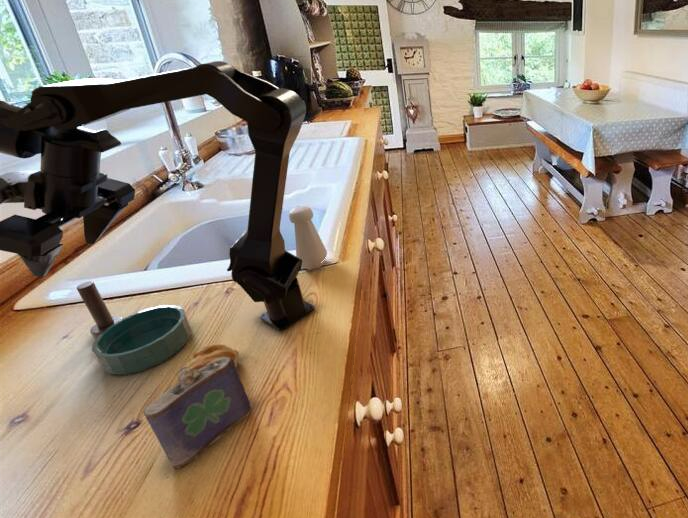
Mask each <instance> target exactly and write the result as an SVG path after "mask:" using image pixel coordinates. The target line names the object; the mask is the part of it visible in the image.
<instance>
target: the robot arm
mask: <svg viewBox="0 0 688 518" xmlns="http://www.w3.org/2000/svg"><path fill="white" fill-rule="evenodd" d="M205 95H207V96H209V97H211V98H213V99H215V100H216V101H217V102H218V103H219V104H220V105H221V106H222V107H223V108H224V109H226V110H227V111H228V112H229V113H230V114H231V115H233V116H235V117H237V118H238V119H241V120H242V121H245V122H246V128H247V136H248V138H249V141H250V142H251V144H252V147H253V150H254V162H253V173H252V183H251V191H250V200H249V201H250V202H249V212H248V221H247V230H245V231H244V232H243V233H242V235H241V236H240V237H239V238H237V240H236V241H235V242H234V243H233V244H232V245H231V246H230V248H229V254H228V255H229V265H228V267H227V269H226V272H230V273H231V274H230V275H231V279H232V281H233V283H236V284H237V285H238V286H239V287H241V289H242V290H243V291H244V292H245V293H246V294H247V295H248V297H250V299H251V300H252V301H253V302H254V303H263V304H264V307H265V312H263V313H262V314H260V316H259V317H260V320H262V321H263V322H265V323H267V324H269V325H270V326H271V327H273V328H274V329H276V330H278V331H280V332H281V331H284V330H286V329H287V328H289V327H291V326H292V325H293V324H295V323H296V322H298V321H299V320H302V318H304V317H306V316H307V315H309V314H310V313H312V312H314V311H315V309H316V307H315V306H314V305H313V304H311V303H309V302H307V301H306V300H305V299H304V297H303V293H302V290H301V285H300V282H299V279H298V277H297V276H298V274H299V273H300V272H301V271H302V268H303V267H302V260H301V259H300V258H298V257H296V255H294V254H293V253H291V252H289V251H287V250H286V246H285V239H284V237H283V235H282V233H281V222H282V221H281V220H282V214H283V206H284V198H285V191H286V185H287V184H286V183H287V175H288V169H289V162H290V153H291V151H292V148H293V146H294V144H295V142H296V140H297V138H298V136H299V134H300V131H301V129H302V127H303V123H304V120H305V117H306V114H307V105H306V102H305V101H304V100H303V98H302V97H301V96H300V95H299V94H297V93H296V92H295V91H293V90H291V89H289V88H284V87H278V86H276V85H274V84H273V83H271V82H269V81H267V80H265V79H262V78H260V77H257V76H254V75H253V74H250V73H247V72H244V71H242V70H240V69H238V68H236V67H235V66H233V65H231V64H230V63H228V62H225V61H223V60H215V61H209V62H205V63H201V64H197V65H196V66H193V67H188V68H181V69H178V70H177V69H176V70H172V71H166V72H160V73H155V74H150V75H145V76H140V77H134V78H128V79H113V78H80V79H75V80H69V81H63V82H59V83H52V84H47V85H46V84H45V85H42V86H41V85H40V86H39V87H36V88H34V89H33V90H32V91H31V97H30V102H29V103H28V104H26V105H25V106H19V105H16V104H12V103H9V102H6V101H4V100H2V99H0V154H3V155H7V156H10V157H15V158H19V159H29V158H33V157H34V156H37V155H40V170H17V171H16V170H15V171H10V172H6V173H3V174H1V175H0V205H2V204H21V203H23V208H25V209H28V210H32V211H36V210H41V212H42V213H43V215H41V216H39V217H37V218H32V217H28V216H23V215H18V214H13V215H11V216H9V217H6V218H4V219H1V220H0V251H2V252H6V253H12V254H16V255H17V256H18V257H20V259H21V260H22V261H23V263H24V264H25V266H26V267H27V269H28V271H30V273H31V274H32V276H34V277H37V278H44V277H46V275H47V274H48V272H49V271H50V269H51V268H52V265H53V264H54V262H55V260H56V258H57V256H58V255H59V253H60V251H61V250H62V248H63V246H64V243H62V242H61V241H62V240H63V238H64V236H63V235H64V231H63V230H62V229H61V228H62V227H64V226H66V225H68V224H70V223H72V222H73V221H75V220H77V219H81V218H82V219H83V220H82V221H83V236H84V240H85V243H86V244H89V245H95V244H96V243H97V242H98V241H99V239H100V238H101V237H102V235H104V233H105V232H106V231H107V230H108V229H109V227H110V226H111V225H112V223H114V221H115V220H116V219H117V218H118V217H119V216H120V214H121V213H122V212H123V211H124V210H125V209H126V208H128V206H129V203H131V202H133V201H134V200H135V196H136V189H135V188H134V187H133V186H132V184H130V183H128V182H126V181H121V180H117V179H113V178H110V177H108V174H107V173H103V172H101V158H102V153H105V152H108V151H110V150H113V149H115V148H117V147H120V146H121V145H122V142H121V140H119V139H118V138H117V137H116V136H114V135H112V134H111V133H110V132H109V130H108V129H106V128H103V129H100V130H97V131H96V130H92V129H89V128H85V127H84V126H88V125H92V124H94V123H98V122H100V121H105V120H107V119H110V118H111V117H116V116H117V115H120V114H122V113H124V112H127V111H130V110H131V109H137V108H142V107H147V106H153V105H158V104H162V103H168V102H173V101H178V100H179V101H180V100H184V99H189V98H193V97H194V98H195V97H200V96H205Z"/></svg>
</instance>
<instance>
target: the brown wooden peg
mask: <svg viewBox="0 0 688 518" xmlns="http://www.w3.org/2000/svg"><path fill="white" fill-rule="evenodd" d="M75 288H76V290H77V292H78V294H79V296H80V298H81V299H82V301H83V303H84V305H85V307H86V308H87V310H88V312H89V314H90V315H91V317H92V319H93V321H94V323H95V324H94V325H93V326H92V327H91V328H90V330H89V331H90V334H91V336H92V338H93V339H94V341H95V340H96V339H97V337H98V336H99V335H100V334H101V333H102V332H104V331H105V330H106V329H107V328H108V327H110V326H112V325H113V324H115V323H116V322H118V321H119V320H121V319H123V317H122V316H112V314H111V312H110V311H109V308H108V307H107V305H106V303H105V301H104V299H103V297H102V295H101V293H100V292H99V290H98V288H97V286H96V283H95V282H94V281H93V280H91V281H90V280H89V281H85V282H82V283H79V284H78V285H77V286H76V287H75Z"/></svg>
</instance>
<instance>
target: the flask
mask: <svg viewBox="0 0 688 518" xmlns="http://www.w3.org/2000/svg"><path fill="white" fill-rule="evenodd" d="M186 367H187V365H184V366H181V367H180V368H178V370H177V372H174V376H176V375H177V377H178V379H179V380H178V381H177V383H176V384H175V385H173V386H172V387H170V388H169V389H168V390H167V391H165V392H164V393H162V394H161V395H160V396H158V397H157V398H155V400H153V402H151V403H150V404H149V405H147V407H146V408H145V410H144V412H143V415H144V417H145V419H146V422H147V423H148V424H149V426H150V428H151V429H152V431H153V433H154V435H155V436H156V437H155V438H156V439H157V441H158V442H159V444H160V446H161V448H162V450H163V452H164V454H165V455H166V458H167V459H168V461H169V464H170V465H171V466H172V467H174V468H176V469H180V468H182V467H184V466H186V465H188V464H189V463H192V461H194V460H196V459H197V458H198V457H199V455H200V454H201V453H203V452H204V451H205V450H206V449H208V447H210V446H212V445H213V444H215V443H216V442H217V441H218V440H220V439H221V437H222V435H224V433H226V432H227V431H230V430H231V428H232V427H233V426H234V425H236V424H238V423H240V421H241V420H243V419H244V418H246V417H247V416H249V414H250V412H251V410H252V408H253V407H251V402H250V399H249V396H248V395H247V392H246V389H245V386H244V384H243V382H242V379H241V377H240V374H239V372H238V368H237V367H236V366H235V363H234V360H233V359H231V358H229V357H220V358H218V359H217V360H215V361H212V362H210V363H208V364H207V365H206V366H204V367H202V368H200V369H199V370H191V371H189V370H188V369H189V368H187V369H185V368H186ZM184 369H185V370H184ZM178 372H179V373H178Z"/></svg>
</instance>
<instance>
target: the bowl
mask: <svg viewBox="0 0 688 518" xmlns="http://www.w3.org/2000/svg"><path fill="white" fill-rule="evenodd" d="M192 332H193V329H192V324H191V322H190V319H189V318H188V315H187V313H186V310H185V309H183V308H182V307H181V306H179V305H173V304H166V305H165V304H163V305H158V306H154V307H149V308H145V309H143V310H140V311H137V312H134V313H131V314H129V315H127V316H125V317H124V318H123V317H122V319H121V320H119V321H118V322H116V323H115V324H113V325H112V326H110V327H108V328H107V329H106V330H105V331H104V332H102V333H101V334H100V335H99V336H98V337H97V339H96V340H95V339H94V341H93V343H92V345H91V352H92V354H93V356H94V357H95V359H96V361H97V362H98V364H99V366H100V368H101V369H102V370H103V371H104V373H107V374H112V375H129V374H134V373H138V372H142V371H145V370H148V369H150V368H154V367H155V366H157V365H159V364H161V363H163V362H165V361H167V360H168V359H169V358H171V357H172V356H174V355H176V353H178V352H179V351H180V350H181V349H182V348H183V347H184V346H185V344H187V341H189V339H190V338H191V335H192Z"/></svg>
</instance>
